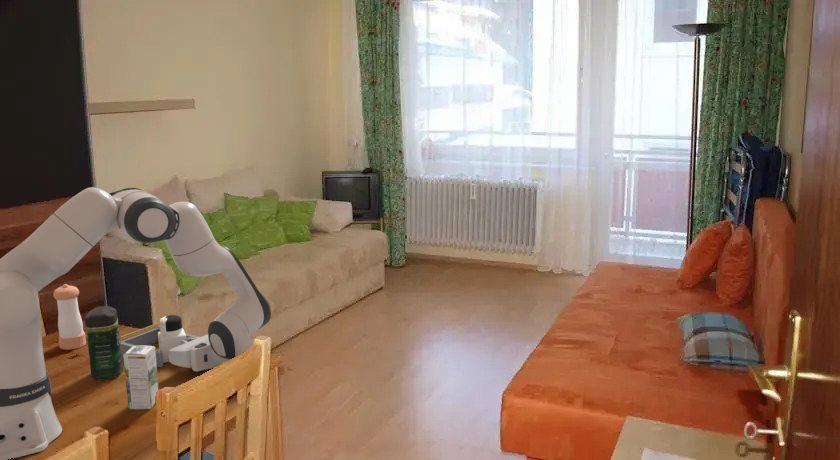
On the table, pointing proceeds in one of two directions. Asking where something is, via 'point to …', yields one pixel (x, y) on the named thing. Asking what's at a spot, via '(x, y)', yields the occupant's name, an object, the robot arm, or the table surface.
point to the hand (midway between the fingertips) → (184, 341)
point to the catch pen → (144, 340)
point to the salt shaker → (69, 318)
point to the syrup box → (141, 376)
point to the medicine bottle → (170, 334)
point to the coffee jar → (104, 343)
